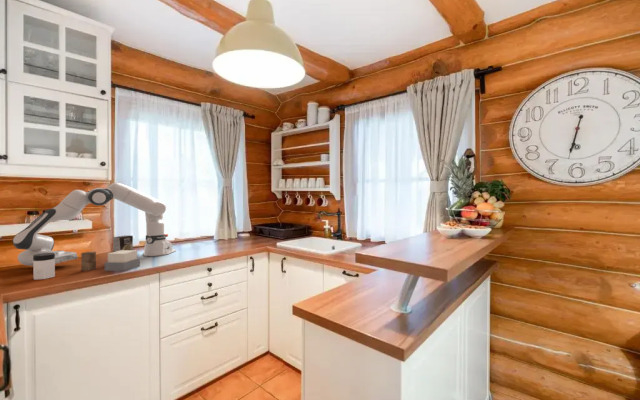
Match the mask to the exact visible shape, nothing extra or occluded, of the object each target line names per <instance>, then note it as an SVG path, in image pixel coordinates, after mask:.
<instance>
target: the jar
mask: <svg viewBox="0 0 640 400" xmlns="http://www.w3.org/2000/svg"><path fill="white" fill-rule="evenodd" d="M55 266H56V264H55V253H41V254H36V255H33V266H32V268H33V273H32V274H33V280H34V281H35V280H46V279H51V278H55V277H56V267H55Z"/></svg>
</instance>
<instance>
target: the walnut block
mask: <svg viewBox="0 0 640 400" xmlns="http://www.w3.org/2000/svg"><path fill="white" fill-rule="evenodd" d="M80 254H81V255H80V256H81V257H80V258H81V259H80V260H81V268H80V269H81V271H82V272H91V271H94V270H96V269H97V252H96V251H86V252H81V253H80Z"/></svg>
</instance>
